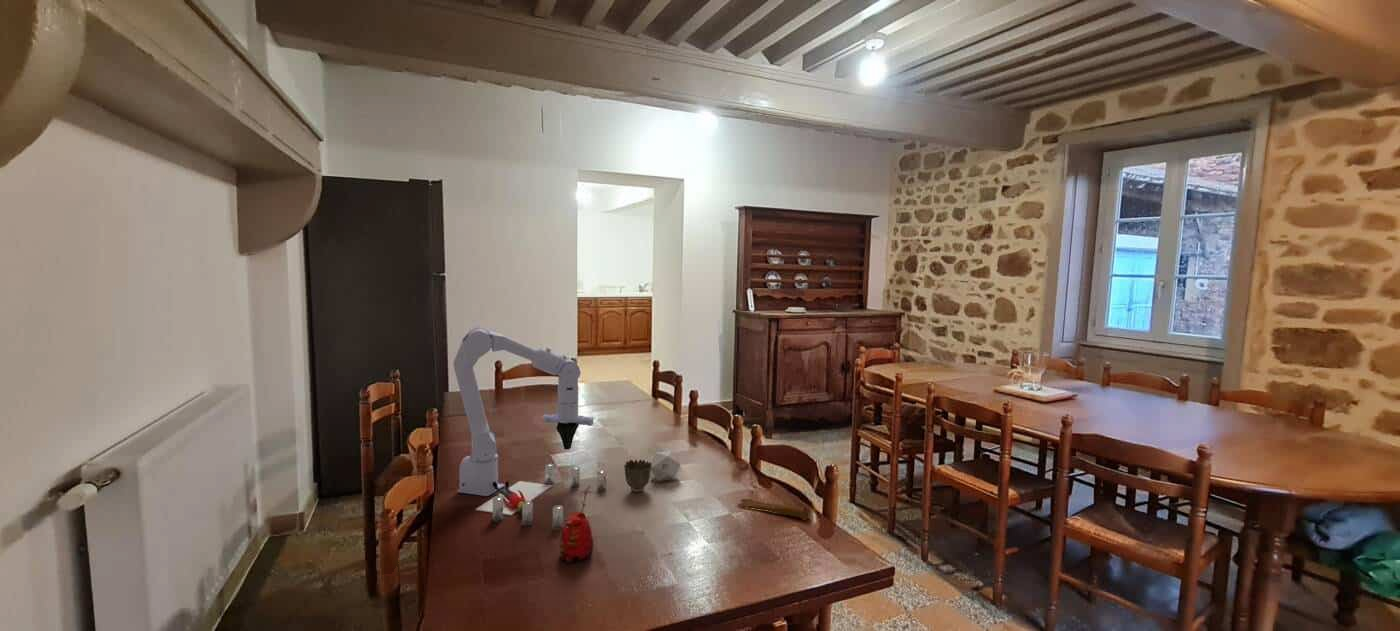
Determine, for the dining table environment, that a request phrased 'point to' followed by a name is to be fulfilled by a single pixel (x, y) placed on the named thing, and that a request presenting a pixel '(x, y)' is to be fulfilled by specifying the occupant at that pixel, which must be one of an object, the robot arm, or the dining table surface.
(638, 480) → the cup
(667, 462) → the die
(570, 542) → the red clay folk toy
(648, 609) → the dining table surface
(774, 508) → the primitive tool
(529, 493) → the mat
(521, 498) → the person figure
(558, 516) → the spacer field
